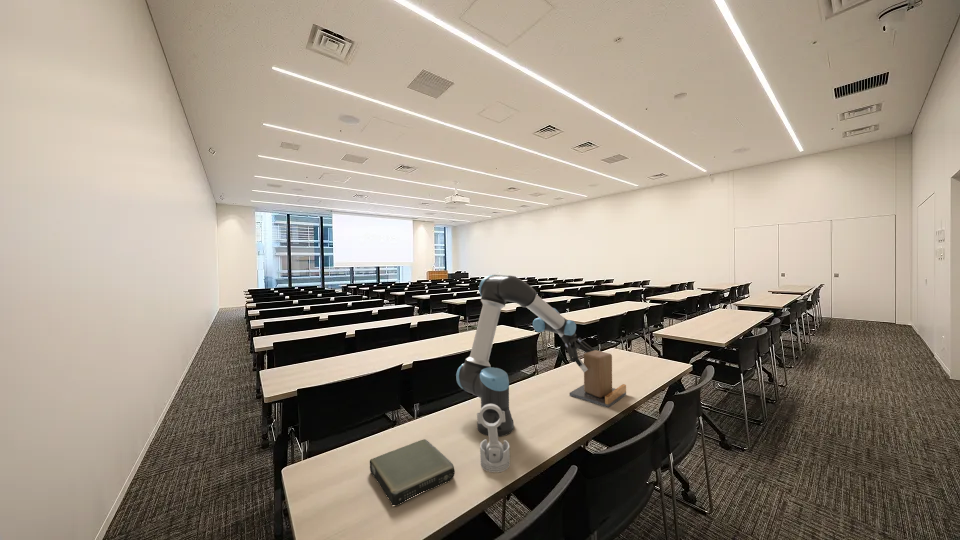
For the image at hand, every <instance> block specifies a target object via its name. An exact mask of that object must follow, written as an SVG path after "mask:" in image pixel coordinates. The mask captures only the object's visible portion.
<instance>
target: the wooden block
mask: <svg viewBox="0 0 960 540" xmlns="http://www.w3.org/2000/svg"><path fill="white" fill-rule="evenodd" d="M583 363H584V365H585V366H586V367H587V368H588V370H587V371H586V372H583V385H584V391H585V392H586V393H589V394H591V395H594V396H596V397H599V398H601V397H604V396H606V395H608V394H609V393H611V392H612V388H613V356H612V353H609V352H604V351H601V350H597V349H594V351H591V352H587V353H586V352H584V353H583Z"/></svg>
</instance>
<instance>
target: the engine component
mask: <svg viewBox="0 0 960 540" xmlns="http://www.w3.org/2000/svg"><path fill="white" fill-rule="evenodd" d="M487 409H494V410H496V411H497V412H498V414H499V416H500V418H499V420H498V421H497V422H495V423H488V422H486V421H485V420H484V418H483V412H484V411H485V410H487ZM476 418H477V421H478V424H482V425H483V426H484V427H486V428H488V436H487V437H488V439H486V438H485V439H483V440H482V441H480V443H479V446H480V447H479V448H480V450H479V452H480V453H479V454H480V455H479V456H480V467H481V468H482V469H483V470H484V471H486V472H488V471H489V473H492V472H499V473H503V472H505V471H507V470H508V469H509V468H510V466H509V465H510V464H511V461H510V460H511V459H510V458H511V455H510V453H511V452H510V443H509V442H508V441H507V440H506V439H504V440H503V443H502V442H501V441H499V437H498V433H497V427H498V426H500V424H501V423H502V422H505V412H504V411H502V410H501V409H500V407H498V406H497V405H495V404H486V405H484V406H483V407H482V408H481V407H480V410H479V412H477V413H476ZM507 468H508V469H507ZM502 471H503V472H502Z"/></svg>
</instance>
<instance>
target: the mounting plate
mask: <svg viewBox="0 0 960 540" xmlns="http://www.w3.org/2000/svg"><path fill="white" fill-rule="evenodd" d="M568 394H569V396H570V397H572V398H575V399H578V400H581V401H586V402H588V403H592V404H595V405H598V406H601V407H603V408H607V409H608V408H610V407H612V406H613V405H614V404H616V403H617V402H618V401H620V400H621V399H622V398H624V397H625V396H627V384H624V383H622V384H621V385H619V386H618V387H617V388H614V387H612V392H611V393H609V394H608V395H606V396H604V397H601V398H599V397H596V396H594V395H591V394H589V393H586V392H585V391H584V384H583V385H581V386H579V387H576V388H575V389H574V390H572V391H570V392H569V393H568Z"/></svg>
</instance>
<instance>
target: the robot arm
mask: <svg viewBox="0 0 960 540" xmlns="http://www.w3.org/2000/svg"><path fill="white" fill-rule="evenodd" d="M478 292H479V295H480V302H481V304H482V307H481V309H480V310H481V311H480V315H479V319H478V323H477V327H476V329H475V330H476V331H475V335H474V338H473V342H472V347H471V350H470V354H469V356H468V357H466V358H465V360H464V363H462V364H461V365H460V366H459V367H458V368H457V371H456V374H455V376H456V383H457V385H458V386H459V387H460V389H461V390H463V391H464V392H466V393H469V394H472V395H474V396H475V397H478V398H480V409H481V408H482V407H483V406H484V405H486V404H495V405H497V406H498V407H500V409H501V410H502V411H504V412H505V422H502V423H501V424H500V426H498V427H497V433H498V438H499V437H504V436H507V435H509V434H511V433H512V432H513V431H514V428H515V424H514V419H513V417H512V414H511V411H510V381H509V375H508V372H506V371H505V370H503V369H501V368H499V367H494V366H493V367H491V364H490V362H489V361H490V356H491V352H492V347H493V343H494V339H495V335H496V330H497V326H498V323H499V319H500V314H501V310H502V309H503V308H505V307H506V304H507V302H509V303H513V304H517V305H519V306H520V307H522V308H527V309H528V310H530V312H532V313H533V314H534V315H535V316H537V318H534V320H533V321H532V327H533V329H534V331H535V332H536V333H544V332H548V333H553V334H558V335H559V337H560V338H561V340H562V342H563V343H564V347H565V348H566V351H567V354H568V357H569V359H570V361H571V362H573V363H575V364H576V365H577V366H578V367H579V368H580V369H581V371H582V372H583V373H584V372H586V371H587V370H588V368H587V367H586V366H585V365H584V361H582V359H581V358H580V357H579V356H578V355H579V354H578V350H577V349H579V350H581V351H583V352H584V353H587V352H591V351H595V349H594V348H593V347H592V346H591V345H590V344H588V343H587V342H586V341H584V340H583V339H582V338H581V337H578V338H577V334H576V330H577V324H576V321H574V320H571V319H566V318H565V317H564V316H563V315H562V314H561V313H560V312H559V311H558V309H556V308H555V307H552V306H551V305H550V304H549V303H547V302H546V301H545V300H544V299H543V298H541V297H540V296H539V294H537V291H536V290H535V289H534V287H532V286H531V285H529V284H528V283H527V282H525V281H524V280H522V279H520V278H519V277H517V276H515V275H503V274H490V275H486V276H485V277H484V278H482V279H481V281H480V283H479V285H478ZM483 418H484V420H485V421H486V422H488V423H495V422H497V421H498V420H499V418H500V416H499V414H498V412H497V411H496V410H494V409H487V410H485V411H484V412H483ZM476 425H477V426H476V427H477V428H476V429H477V430H478V432H479V433H481V434H482V435H484V436H487V437H489V436H488V428H486V427H484V426H483V425H482V424H478V420H477V422H476Z"/></svg>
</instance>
